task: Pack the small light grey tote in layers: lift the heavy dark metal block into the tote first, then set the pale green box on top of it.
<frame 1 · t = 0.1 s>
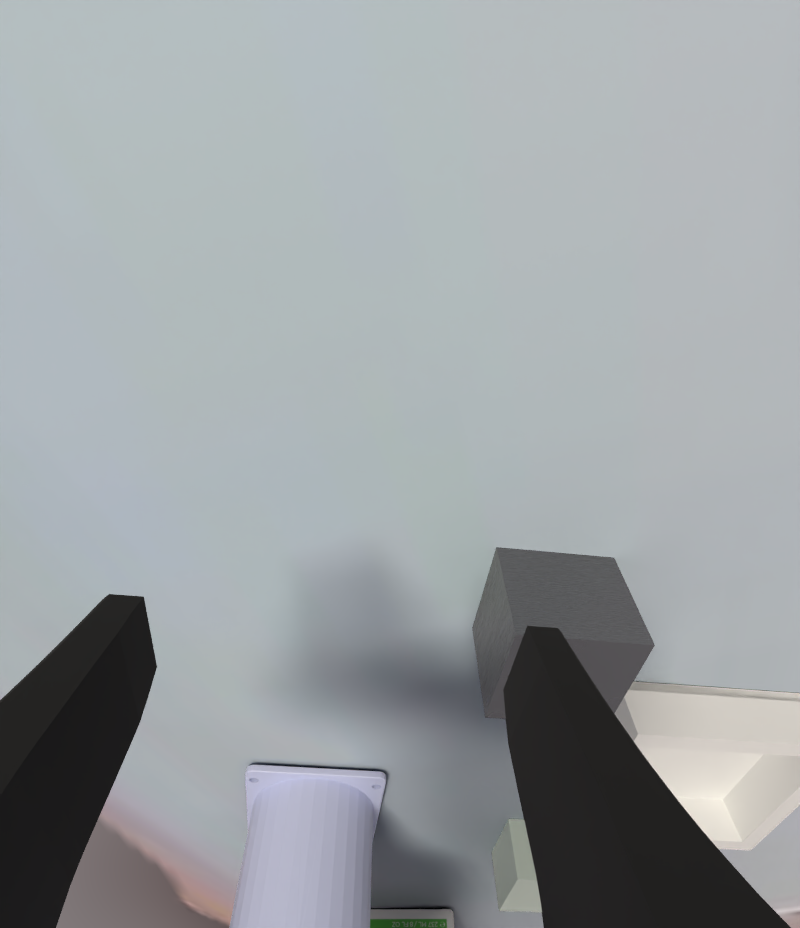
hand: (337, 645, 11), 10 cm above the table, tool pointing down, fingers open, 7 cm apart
pale green box: (535, 835, 38), on the table
metal block: (539, 592, 25), on the table
tote: (678, 746, 32), on the table
skincare box: (402, 919, 46), on the table
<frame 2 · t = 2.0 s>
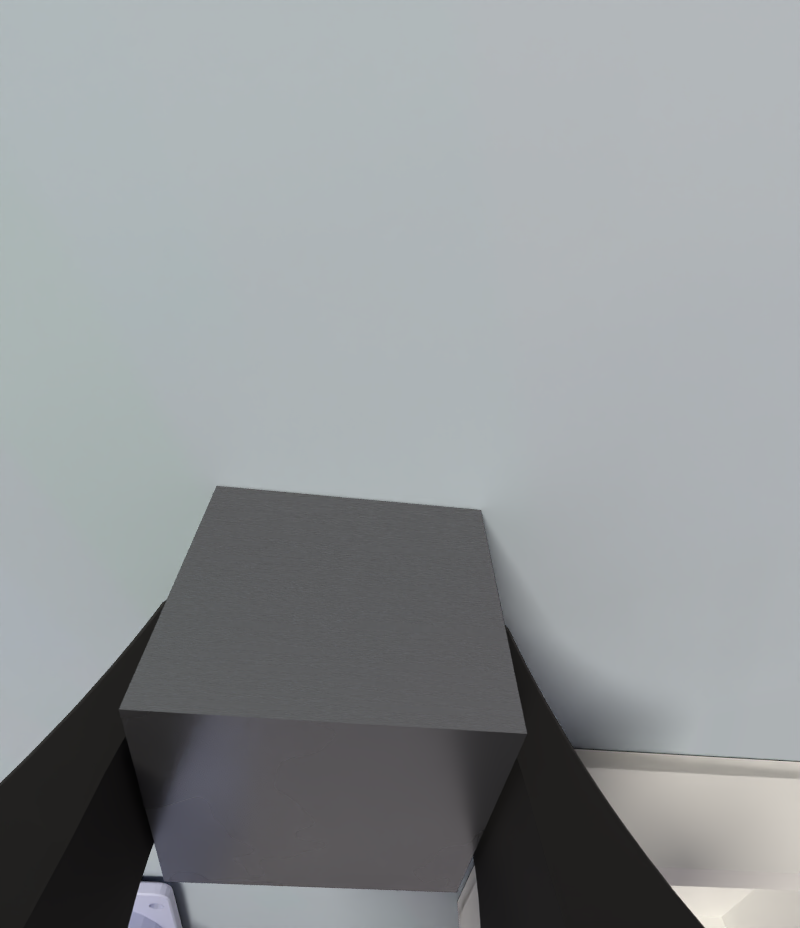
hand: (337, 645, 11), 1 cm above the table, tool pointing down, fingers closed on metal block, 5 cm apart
metal block: (342, 590, 12), on the table, touching gripper
tote: (646, 844, 19), on the table
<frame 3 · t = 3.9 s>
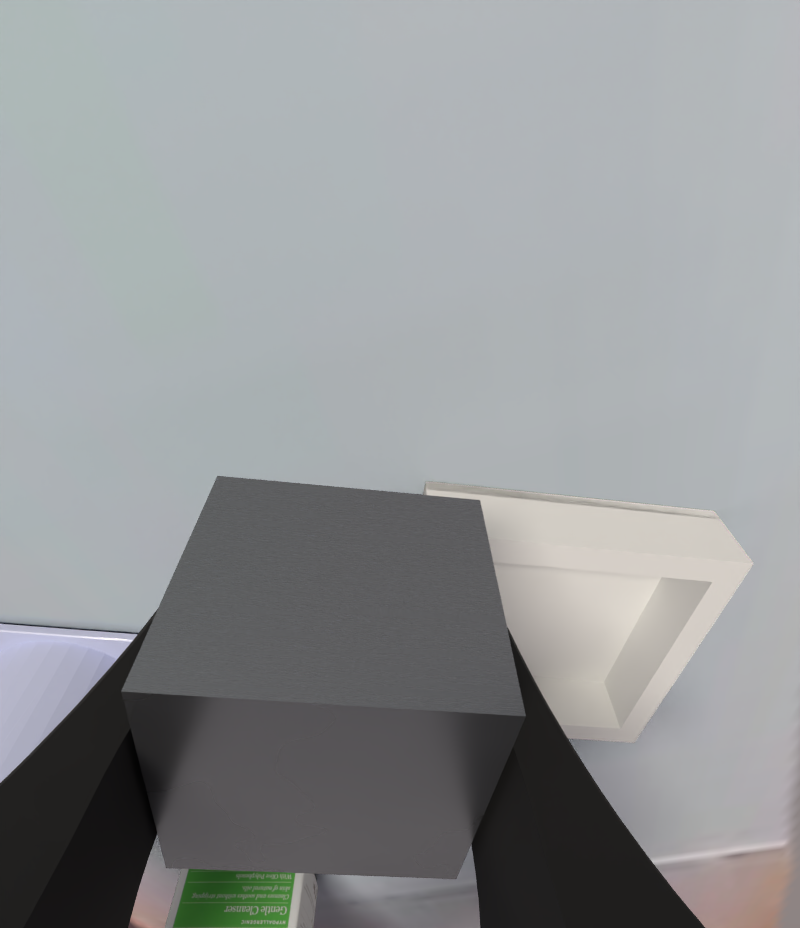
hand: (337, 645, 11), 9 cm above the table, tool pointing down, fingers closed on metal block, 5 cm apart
metal block: (342, 581, 12), point 8 cm above the table, touching gripper
tote: (533, 599, 24), on the table
skincare box: (254, 862, 38), on the table
when the fingers open (4 cm above the table, at t = 6.2 s): metal block drops 2 cm, resting on tote.
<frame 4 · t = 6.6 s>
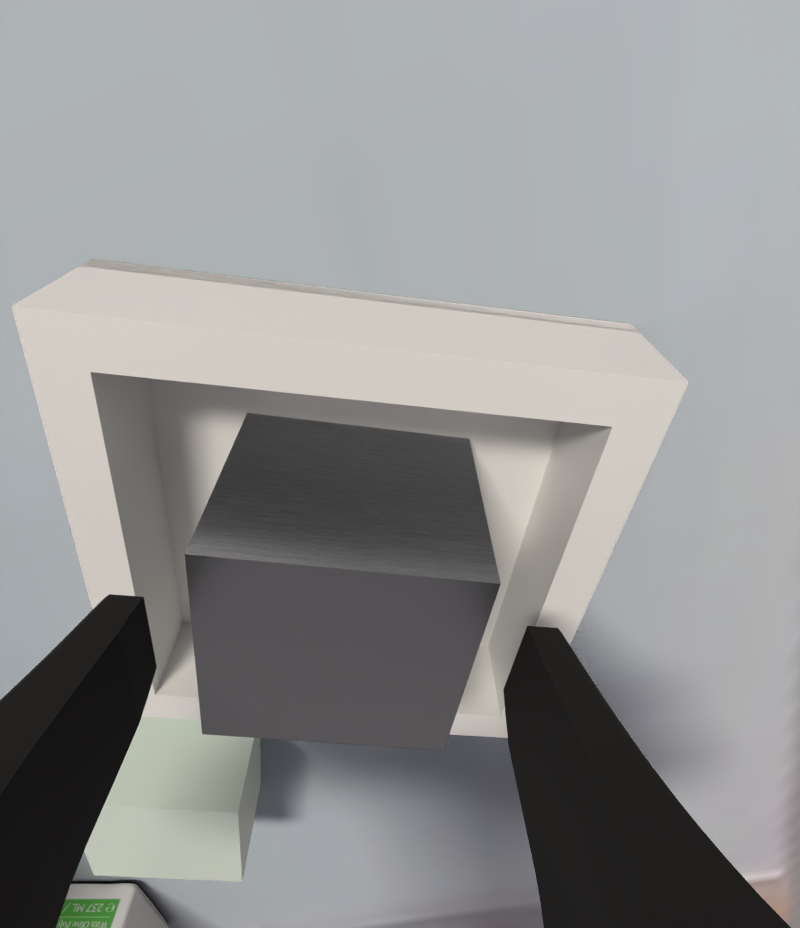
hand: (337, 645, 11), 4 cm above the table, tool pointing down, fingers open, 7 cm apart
pale green box: (193, 740, 21), on the table
metal block: (349, 512, 14), resting on tote
tote: (351, 504, 14), on the table
skincare box: (81, 901, 29), on the table
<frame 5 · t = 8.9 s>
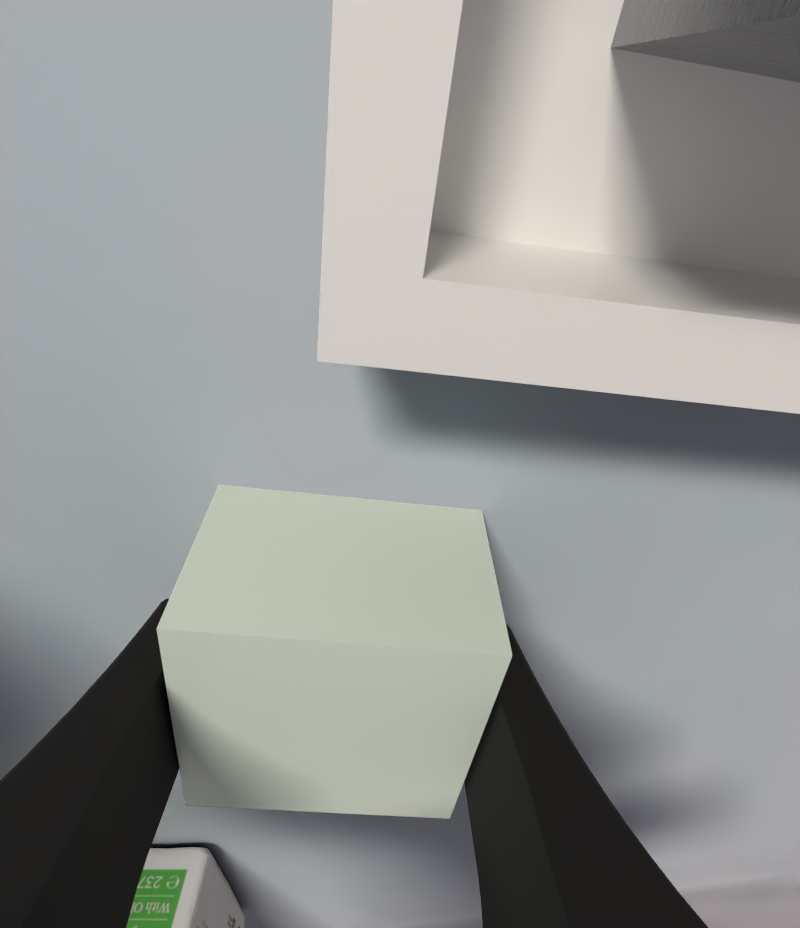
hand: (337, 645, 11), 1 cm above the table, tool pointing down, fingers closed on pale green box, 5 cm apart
pale green box: (343, 583, 12), on the table, touching gripper
skincare box: (122, 877, 21), on the table
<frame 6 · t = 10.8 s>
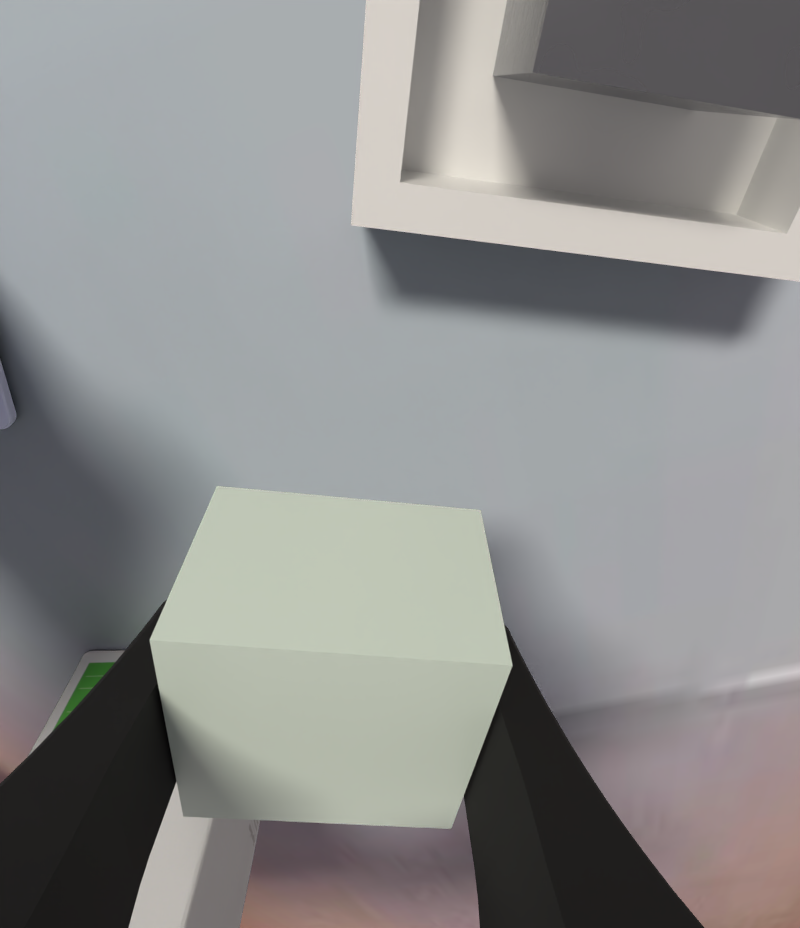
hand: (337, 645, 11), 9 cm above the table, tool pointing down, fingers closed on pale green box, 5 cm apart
pale green box: (342, 590, 12), point 8 cm above the table, touching gripper
skincare box: (187, 686, 27), on the table
when the fingers open (8 cm above the table, at t = 12.6 s): pale green box drops 1 cm, resting on metal block.
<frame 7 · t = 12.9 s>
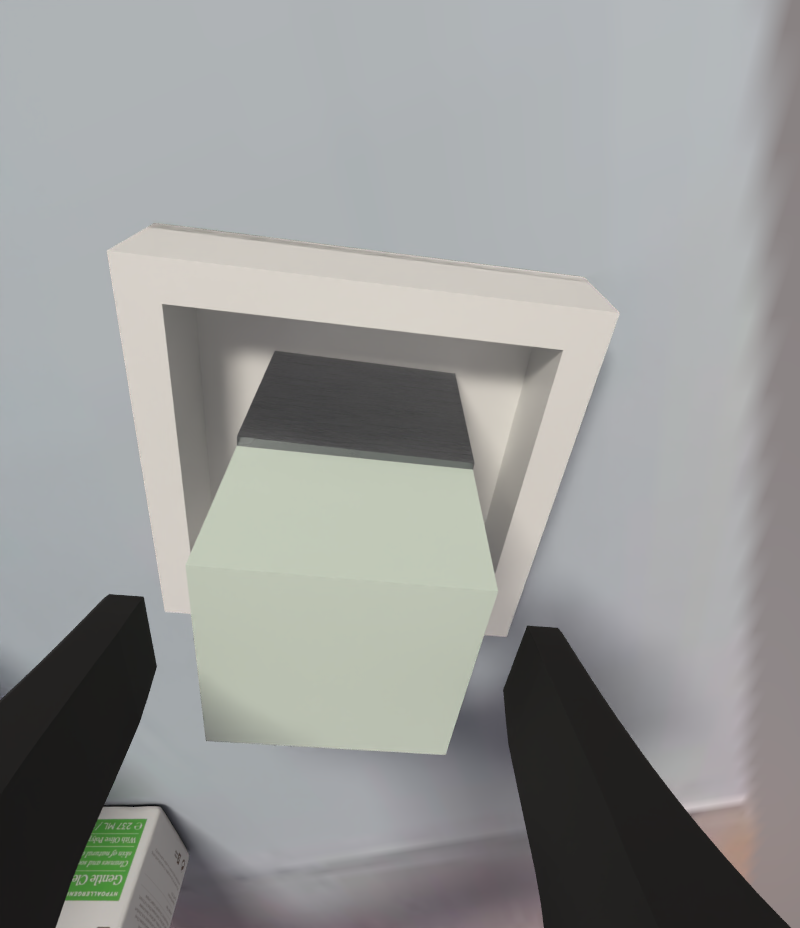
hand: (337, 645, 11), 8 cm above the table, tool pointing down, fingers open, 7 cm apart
pale green box: (347, 545, 13), point 5 cm above the table, touching metal block
metal block: (357, 438, 17), resting on tote, touching pale green box
tote: (358, 434, 17), on the table
skincare box: (109, 827, 32), on the table
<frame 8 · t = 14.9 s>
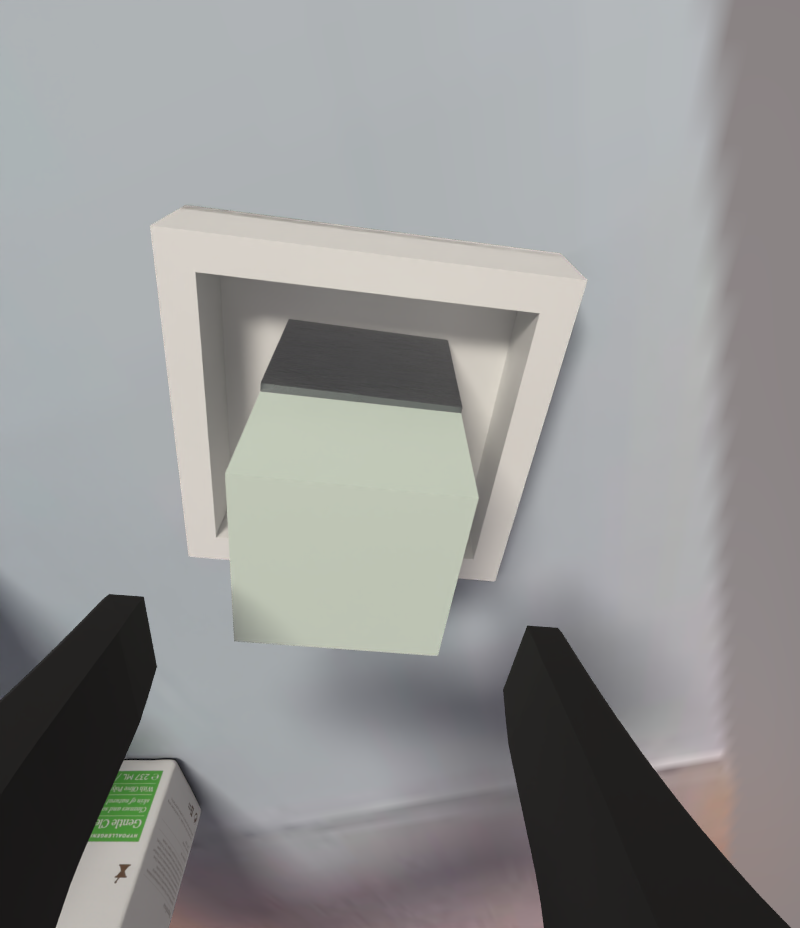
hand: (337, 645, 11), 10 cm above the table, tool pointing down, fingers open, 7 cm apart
pale green box: (353, 483, 15), point 5 cm above the table, touching metal block
metal block: (361, 400, 19), resting on tote, touching pale green box
tote: (361, 397, 19), on the table
skincare box: (126, 783, 34), on the table
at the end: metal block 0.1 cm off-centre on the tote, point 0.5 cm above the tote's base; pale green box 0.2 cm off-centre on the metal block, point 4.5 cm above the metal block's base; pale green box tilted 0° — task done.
